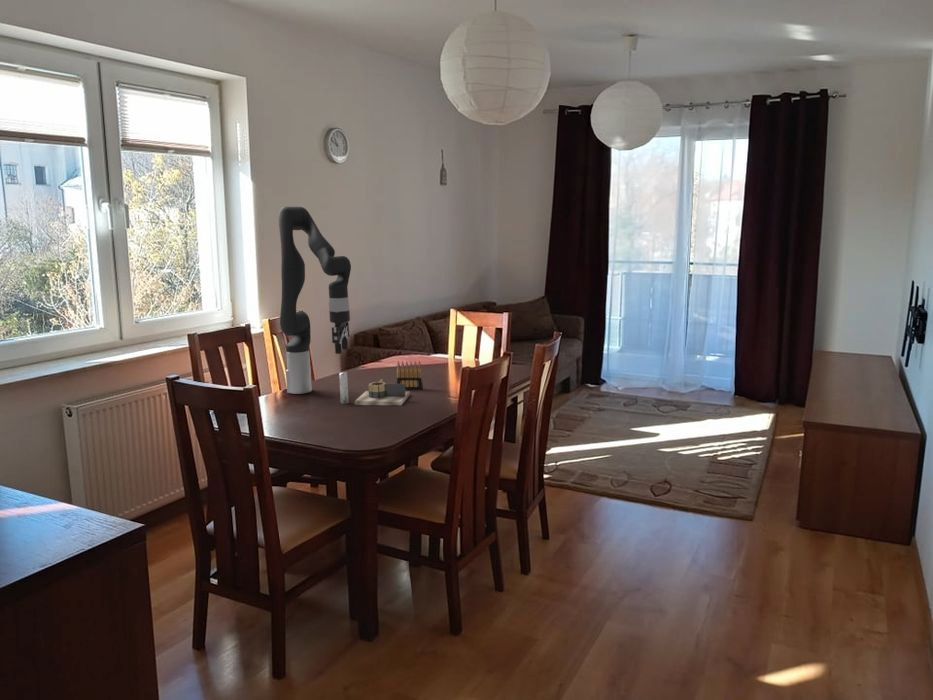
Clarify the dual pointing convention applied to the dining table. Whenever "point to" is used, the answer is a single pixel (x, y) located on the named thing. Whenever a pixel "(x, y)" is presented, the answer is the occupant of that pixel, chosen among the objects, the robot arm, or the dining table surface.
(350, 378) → the dining table surface
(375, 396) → the base plate with nut
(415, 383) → the ammunition clip
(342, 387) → the hinge pin
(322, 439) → the dining table surface
